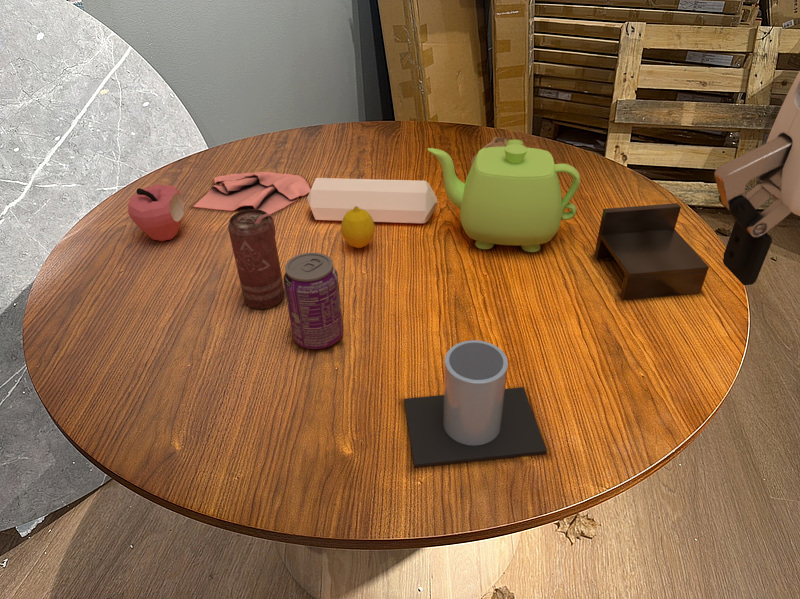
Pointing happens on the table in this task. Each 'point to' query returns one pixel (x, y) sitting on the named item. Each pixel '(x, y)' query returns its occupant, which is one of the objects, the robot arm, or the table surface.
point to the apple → (157, 211)
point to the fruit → (357, 227)
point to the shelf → (650, 251)
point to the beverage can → (313, 300)
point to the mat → (441, 449)
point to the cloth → (254, 192)
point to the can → (256, 258)
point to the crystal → (373, 199)
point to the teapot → (510, 195)
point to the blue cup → (474, 391)
